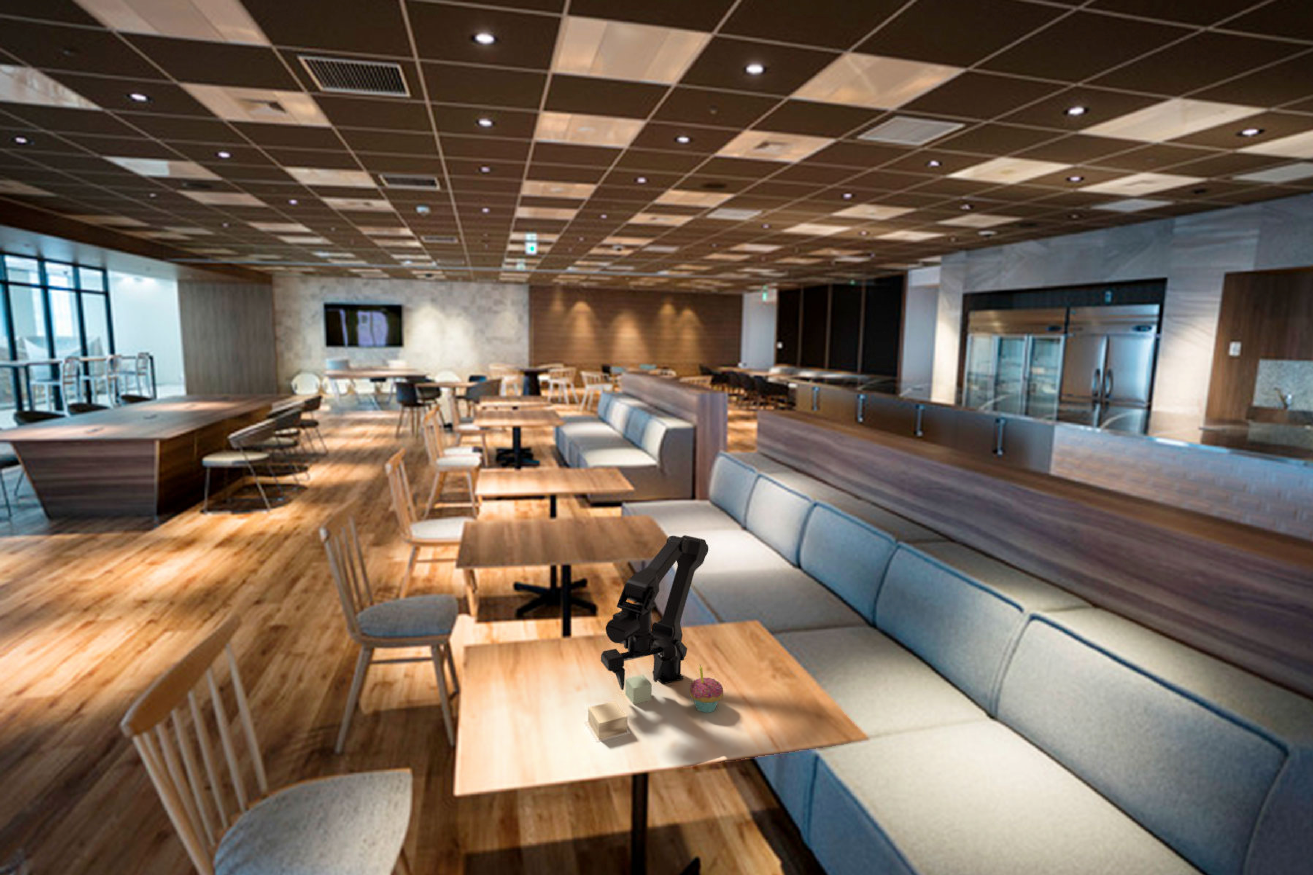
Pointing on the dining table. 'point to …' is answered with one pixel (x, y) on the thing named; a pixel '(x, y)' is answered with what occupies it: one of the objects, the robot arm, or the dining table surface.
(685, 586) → the robot arm
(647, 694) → the green cube
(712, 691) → the cupcake
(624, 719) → the maple block
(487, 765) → the dining table surface
